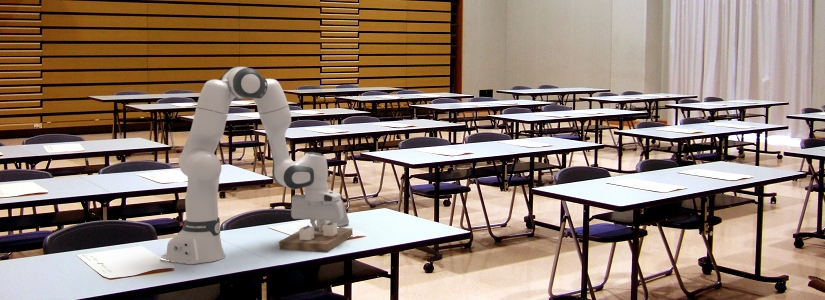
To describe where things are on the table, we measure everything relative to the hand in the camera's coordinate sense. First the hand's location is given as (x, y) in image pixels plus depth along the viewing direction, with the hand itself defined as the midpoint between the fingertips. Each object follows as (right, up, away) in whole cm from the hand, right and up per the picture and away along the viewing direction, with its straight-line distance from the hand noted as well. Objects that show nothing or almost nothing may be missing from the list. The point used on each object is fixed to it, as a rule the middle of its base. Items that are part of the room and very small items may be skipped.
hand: (317, 231), depth 319 cm
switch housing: (0, -4, +1) cm, 5 cm away
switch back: (+1, 0, +8) cm, 8 cm away
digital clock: (+3, -1, +26) cm, 26 cm away
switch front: (-3, -2, -7) cm, 8 cm away
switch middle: (+5, -1, -1) cm, 5 cm away
